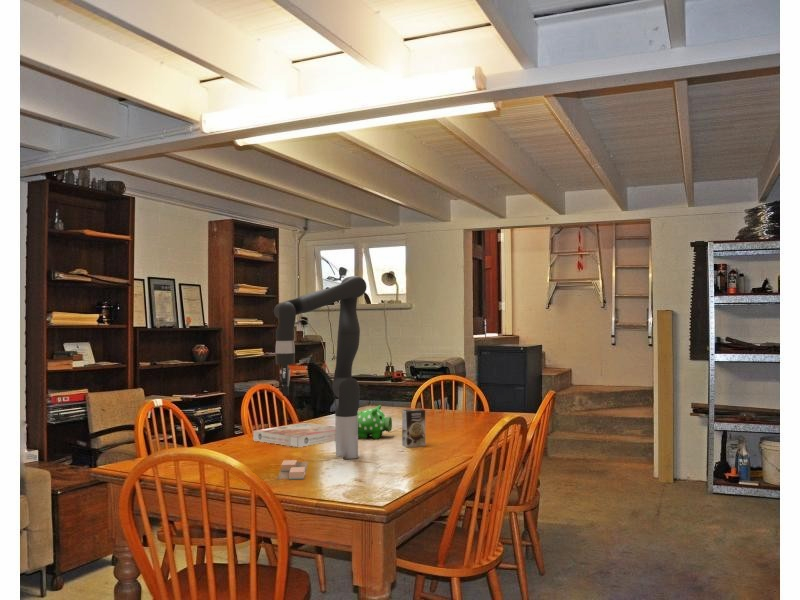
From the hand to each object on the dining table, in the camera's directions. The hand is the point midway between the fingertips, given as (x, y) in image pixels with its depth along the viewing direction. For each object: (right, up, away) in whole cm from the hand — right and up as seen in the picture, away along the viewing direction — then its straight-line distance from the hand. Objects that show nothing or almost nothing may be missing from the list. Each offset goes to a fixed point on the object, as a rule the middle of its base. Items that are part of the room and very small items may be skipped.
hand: (285, 395), depth 269 cm
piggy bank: (+32, -29, +59) cm, 73 cm away
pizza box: (-2, -30, +56) cm, 64 cm away
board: (+6, -26, -17) cm, 32 cm away
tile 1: (+4, -24, -12) cm, 27 cm away
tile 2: (+9, -24, -25) cm, 35 cm away
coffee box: (+52, -28, +35) cm, 68 cm away
